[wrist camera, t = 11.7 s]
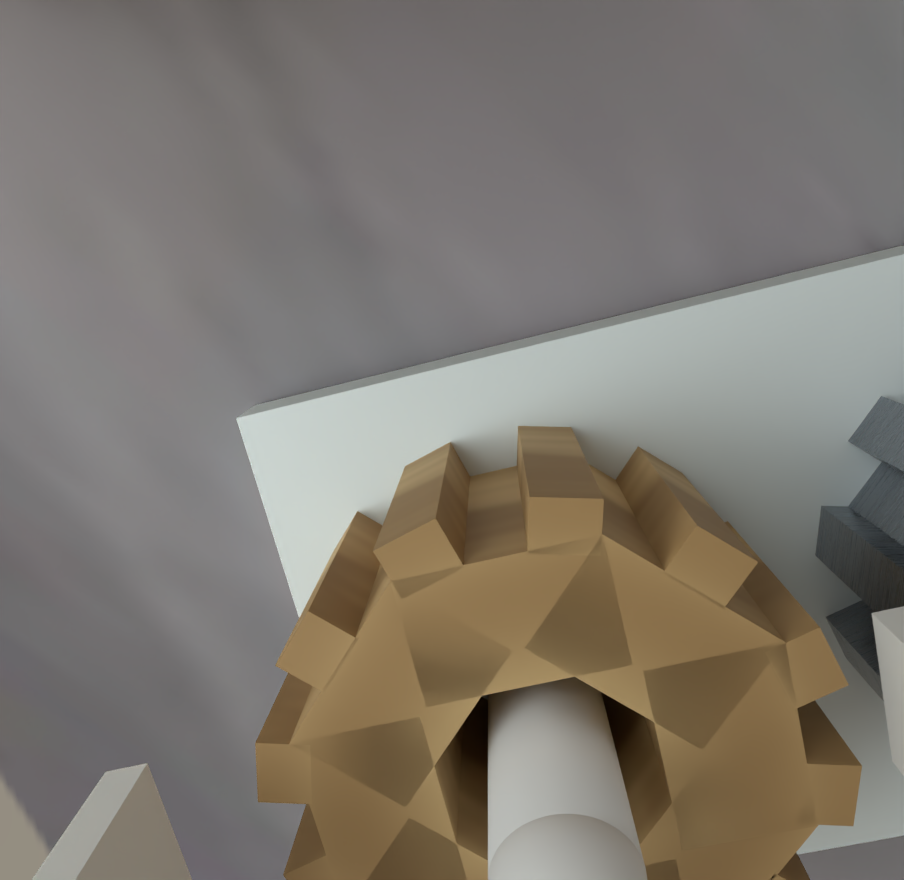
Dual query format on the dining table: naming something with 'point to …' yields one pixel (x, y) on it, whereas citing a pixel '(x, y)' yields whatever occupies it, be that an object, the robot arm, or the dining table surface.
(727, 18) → the dining table surface
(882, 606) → the gear
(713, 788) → the wooden gear
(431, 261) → the dining table surface
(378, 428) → the gear board
